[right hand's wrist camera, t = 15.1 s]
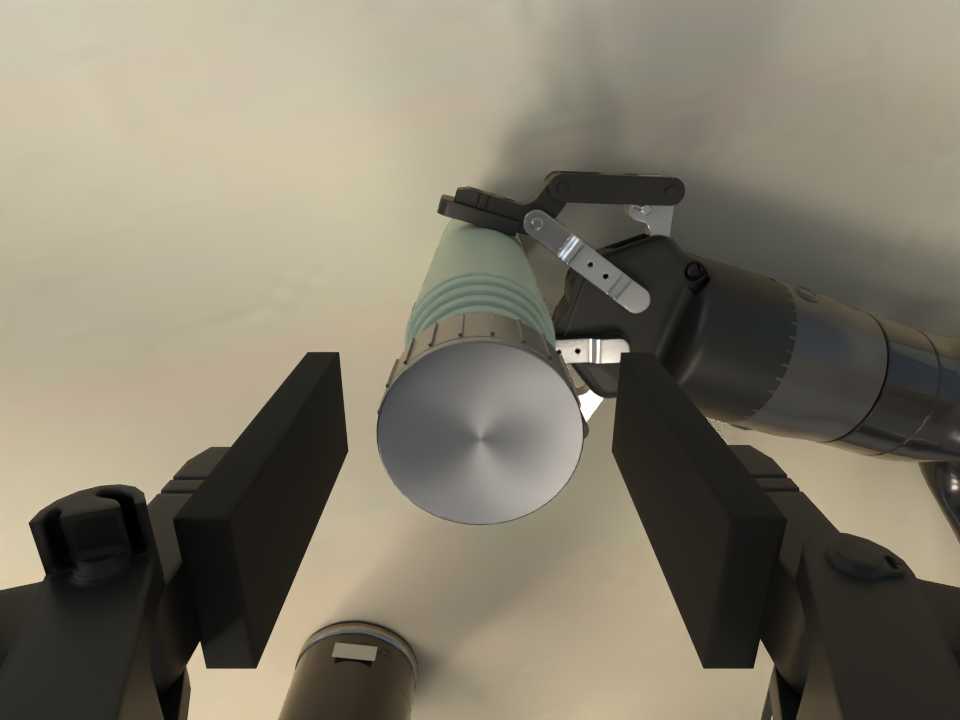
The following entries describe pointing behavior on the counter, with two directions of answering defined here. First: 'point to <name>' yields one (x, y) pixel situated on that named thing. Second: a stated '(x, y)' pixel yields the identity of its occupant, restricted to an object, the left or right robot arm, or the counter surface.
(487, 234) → the bottle
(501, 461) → the cap
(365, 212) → the counter surface
